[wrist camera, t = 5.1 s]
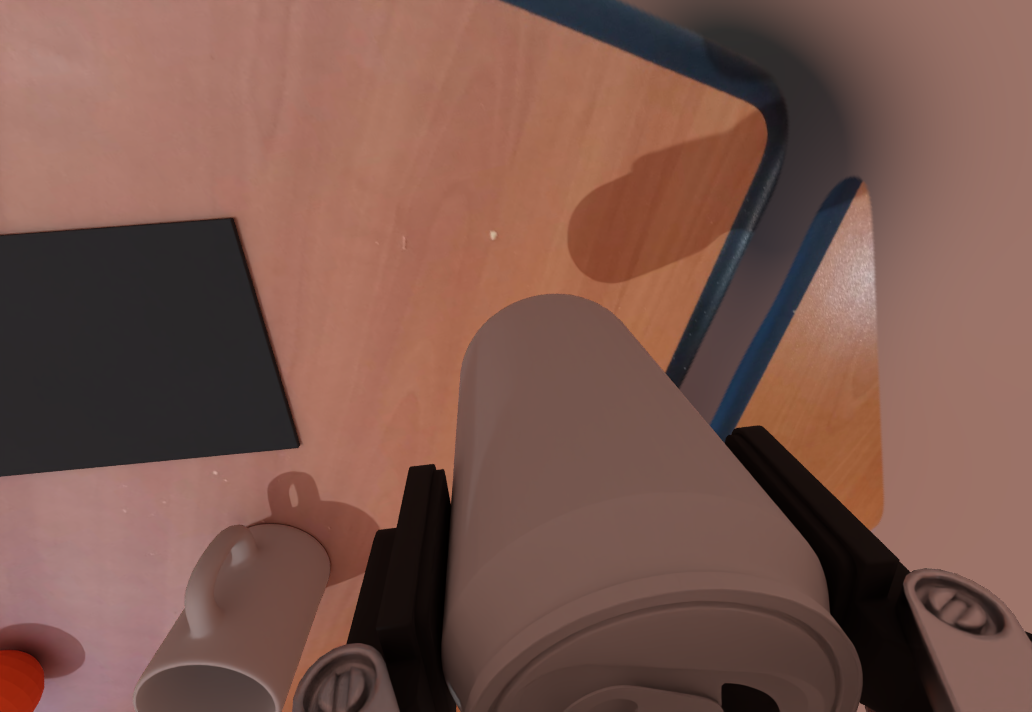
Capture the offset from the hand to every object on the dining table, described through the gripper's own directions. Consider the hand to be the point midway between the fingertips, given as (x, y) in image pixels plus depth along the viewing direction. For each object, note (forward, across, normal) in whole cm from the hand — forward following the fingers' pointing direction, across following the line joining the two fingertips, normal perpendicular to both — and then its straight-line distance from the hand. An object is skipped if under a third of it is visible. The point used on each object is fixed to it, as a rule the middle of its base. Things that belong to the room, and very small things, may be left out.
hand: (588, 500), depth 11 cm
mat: (+21, +29, +2) cm, 36 cm away
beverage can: (+7, 0, 0) cm, 7 cm away
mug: (+22, +21, +20) cm, 36 cm away
